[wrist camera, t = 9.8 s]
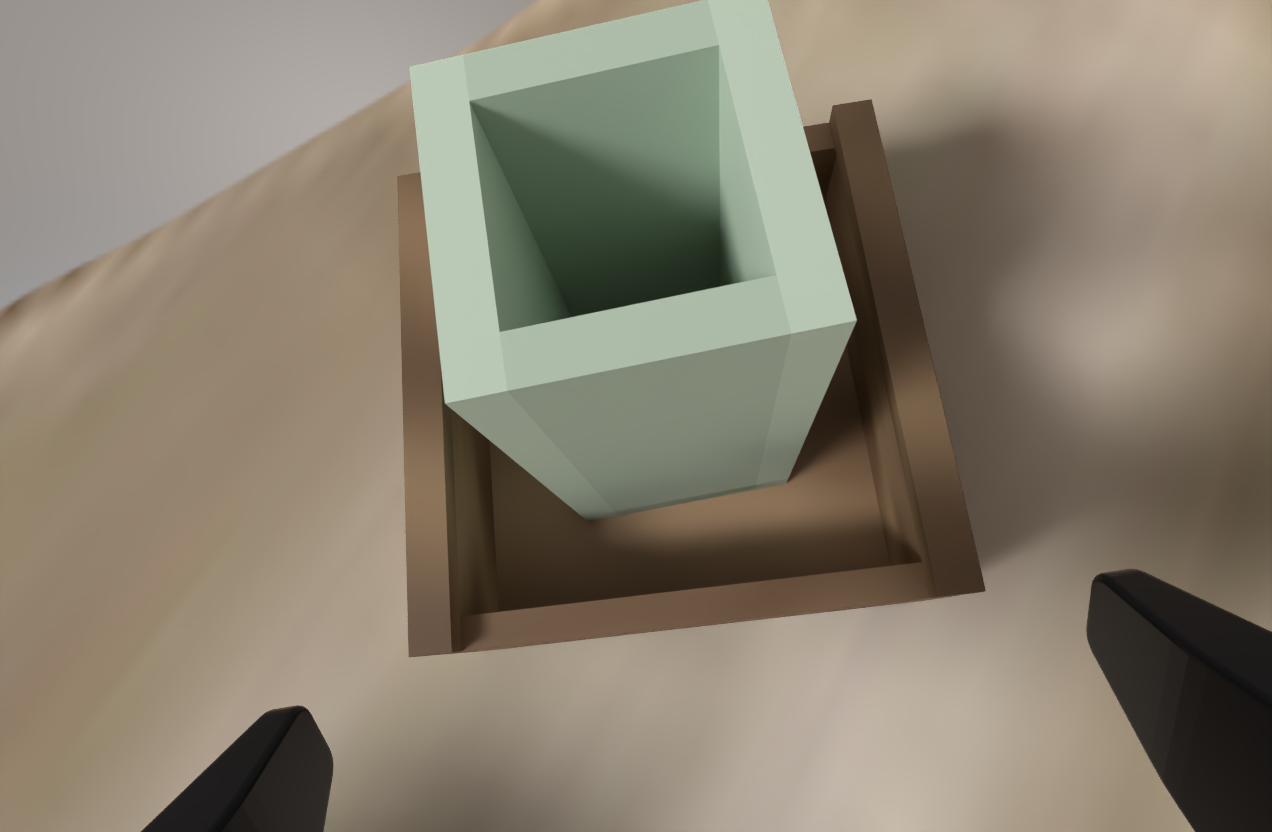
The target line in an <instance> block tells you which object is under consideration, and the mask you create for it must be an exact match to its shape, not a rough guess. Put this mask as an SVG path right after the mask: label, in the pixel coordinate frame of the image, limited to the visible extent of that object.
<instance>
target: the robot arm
mask: <svg viewBox="0 0 1272 832" xmlns="http://www.w3.org/2000/svg"><path fill="white" fill-rule="evenodd" d="M1087 638H1088V643H1089V645H1090V648H1091V650H1092V653H1093V655H1094V656H1095V658H1096V660H1097V662H1098V664H1099V666H1100V668H1101V670H1102V671H1103V673H1104V675H1105V677H1106V679H1107V681H1108V683H1109V684H1110V686H1111V688H1112V690H1113V692H1114V694H1115V696H1116V698H1117V699H1118V701H1119V703H1120V705H1121V707H1122V709H1123V711H1124V713H1125V714H1126V716H1127V718H1128V720H1129V722H1130V724H1131V726H1132V728H1133V729H1134V731H1135V733H1136V735H1137V737H1138V739H1139V741H1140V743H1141V744H1142V746H1143V748H1144V750H1145V752H1146V754H1147V756H1148V758H1149V759H1150V761H1151V763H1152V765H1153V766H1154V768H1155V770H1156V772H1157V773H1158V775H1159V777H1160V779H1161V780H1162V782H1163V784H1164V785H1165V787H1166V788H1167V790H1168V792H1169V793H1170V795H1171V796H1172V798H1173V799H1174V801H1175V803H1176V804H1177V806H1178V807H1179V809H1180V810H1181V812H1182V813H1183V815H1184V816H1185V818H1186V819H1187V820H1188V822H1189V823H1190V825H1191V826H1192V828H1193V829H1194V831H1195V832H1272V632H1271V631H1269V630H1266V629H1264V628H1262V627H1260V626H1258V625H1256V624H1254V623H1251V622H1249V621H1247V620H1245V619H1243V618H1241V617H1239V616H1237V615H1234V614H1232V613H1230V612H1228V611H1226V610H1224V609H1222V608H1220V607H1217V606H1215V605H1213V604H1211V603H1209V602H1207V601H1205V600H1203V599H1200V598H1198V597H1196V596H1194V595H1192V594H1190V593H1188V592H1186V591H1183V590H1181V589H1179V588H1177V587H1175V586H1173V585H1171V584H1169V583H1166V582H1164V581H1162V580H1160V579H1158V578H1156V577H1154V576H1152V575H1149V574H1147V573H1145V572H1143V571H1140V570H1137V569H1125V570H1119V571H1113V572H1107V573H1101V574H1099V575H1097V576H1096V577H1095V578H1094V580H1093V582H1092V586H1091V594H1090V602H1089V611H1088V619H1087ZM332 776H333V757H332V754H331V751H330V748H329V746H328V745H327V743H326V741H325V739H324V737H323V735H322V734H321V732H320V730H319V728H318V726H317V724H316V722H315V721H314V719H313V717H312V715H311V713H310V712H309V710H308V709H306V708H305V707H303V706H291V707H285V708H279V709H273V710H270V711H268V712H266V713H264V714H263V715H262V716H261V717H260V718H259V719H258V720H257V721H256V722H255V723H253V724H252V725H251V726H250V727H249V728H248V729H247V730H246V731H245V732H244V733H243V734H242V735H241V736H240V737H239V738H238V739H237V740H236V741H235V742H234V743H233V744H232V745H231V746H230V747H229V748H227V749H226V750H225V751H224V752H223V753H222V754H221V755H220V756H219V757H218V758H217V759H216V760H215V761H214V762H213V763H212V764H211V765H210V766H209V767H208V768H207V769H206V770H205V771H204V772H203V773H201V774H200V775H199V776H198V777H197V778H196V779H195V780H194V781H193V782H192V783H191V784H190V785H189V786H188V787H187V788H186V789H185V790H184V791H183V792H182V793H181V794H180V795H179V796H178V797H177V798H175V799H174V800H173V801H172V802H171V803H170V804H169V805H168V806H167V807H166V808H165V809H164V810H163V811H162V812H161V813H160V814H159V815H158V816H157V817H156V818H155V819H154V820H153V821H152V822H151V823H149V824H148V825H147V826H146V827H145V828H144V829H143V830H142V831H141V832H323V831H324V825H325V819H326V813H327V807H328V801H329V795H330V788H331V782H332Z"/></svg>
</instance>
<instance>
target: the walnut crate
mask: <svg viewBox="0 0 1272 832" xmlns="http://www.w3.org/2000/svg"><path fill="white" fill-rule="evenodd" d="M803 129H804V132H805V136H806V140H807V143H808V147H809V150H810V154H811V158H812V161H813V165H814V168H815V172H816V175H817V179H818V183H819V186H820V190H821V193H822V197H823V201H824V204H825V208H826V211H827V215H828V219H829V222H830V226H831V229H832V233H833V236H834V240H835V244H836V247H837V251H838V254H839V258H840V262H841V265H842V269H843V272H844V276H845V280H846V283H847V287H848V290H849V294H850V297H851V301H852V305H853V308H854V312H855V315H856V319H857V321H856V324H855V326H854V328H853V331H852V333H851V335H850V337H849V340H848V342H847V344H846V347H845V349H844V351H843V354H842V356H841V358H840V361H839V363H838V365H837V367H836V370H835V372H834V374H833V377H832V379H831V381H830V384H829V386H828V388H827V390H826V393H825V395H824V397H823V400H822V402H821V404H820V407H819V409H818V411H817V414H816V416H815V418H814V420H813V423H812V425H811V427H810V430H809V432H808V434H807V437H806V439H805V441H804V444H803V446H802V448H801V450H800V453H799V455H798V457H797V460H796V462H795V464H794V467H793V469H792V471H791V473H790V476H789V478H788V480H787V483H786V484H783V485H777V486H772V487H767V488H762V489H756V490H751V491H746V492H741V493H735V494H730V495H725V496H720V497H714V498H709V499H704V500H699V501H693V502H688V503H683V504H678V505H673V506H667V507H662V508H657V509H652V510H646V511H641V512H636V513H631V514H625V515H620V516H615V517H610V518H604V519H599V520H594V521H589V522H588V521H587V520H585V519H584V518H583V517H582V516H581V515H579V514H578V513H577V512H576V511H575V510H573V509H572V508H571V507H570V506H569V505H567V504H566V503H565V502H564V501H562V500H561V499H560V498H559V497H558V496H556V495H555V494H554V493H553V492H552V491H550V490H549V489H548V488H547V487H545V486H544V485H543V484H542V483H541V482H539V481H538V480H537V479H536V478H535V477H533V476H532V475H531V474H530V473H529V472H527V471H526V470H525V469H524V468H522V467H521V466H520V465H519V464H518V463H516V462H515V461H514V460H513V459H512V458H510V457H509V456H508V455H507V454H506V453H504V452H503V451H502V450H501V449H499V448H498V447H497V446H496V445H495V444H493V443H492V442H491V441H490V440H489V439H487V438H486V437H485V436H484V435H482V434H481V433H480V432H479V431H478V430H476V429H475V428H474V427H473V426H472V425H470V424H469V423H468V422H467V421H466V420H464V419H463V418H462V417H461V416H459V415H458V414H457V413H456V412H455V411H453V410H452V409H451V408H450V407H449V406H447V405H446V404H445V399H444V390H443V380H442V371H441V362H440V352H439V343H438V333H437V324H436V314H435V305H434V296H433V286H432V277H431V267H430V258H429V248H428V239H427V230H426V220H425V211H424V201H423V192H422V182H421V173H414V174H408V175H402V176H397V177H398V219H399V262H400V304H401V347H402V389H403V431H404V474H405V516H406V558H407V601H408V643H409V657H417V656H428V655H440V654H453V653H465V652H478V651H488V650H497V649H505V648H514V647H523V646H532V645H540V644H549V643H558V642H567V641H576V640H584V639H593V638H602V637H611V636H619V635H628V634H637V633H646V632H654V631H663V630H672V629H681V628H690V627H698V626H707V625H716V624H725V623H733V622H742V621H751V620H760V619H768V618H777V617H786V616H795V615H803V614H812V613H821V612H830V611H839V610H847V609H856V608H865V607H874V606H882V605H891V604H900V603H909V602H917V601H925V600H931V599H938V598H944V597H951V596H957V595H963V594H970V593H978V592H984V591H986V590H985V586H984V582H983V577H982V573H981V569H980V565H979V560H978V556H977V552H976V547H975V543H974V539H973V534H972V530H971V526H970V522H969V517H968V513H967V509H966V504H965V500H964V496H963V491H962V487H961V483H960V478H959V474H958V470H957V466H956V461H955V457H954V453H953V448H952V444H951V440H950V435H949V431H948V427H947V422H946V418H945V414H944V410H943V405H942V401H941V397H940V392H939V388H938V384H937V379H936V375H935V371H934V367H933V362H932V358H931V354H930V349H929V345H928V341H927V336H926V332H925V328H924V323H923V319H922V315H921V311H920V306H919V302H918V298H917V293H916V289H915V285H914V280H913V276H912V272H911V268H910V263H909V259H908V255H907V250H906V246H905V242H904V237H903V233H902V229H901V224H900V220H899V216H898V212H897V207H896V203H895V199H894V194H893V190H892V186H891V181H890V177H889V173H888V168H887V164H886V160H885V156H884V151H883V147H882V143H881V138H880V134H879V130H878V125H877V121H876V117H875V113H874V108H873V104H872V100H865V101H858V102H852V103H846V104H840V105H834V106H833V107H832V112H831V117H830V121H829V123H824V124H818V125H812V126H805V127H803Z"/></svg>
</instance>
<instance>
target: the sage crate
mask: <svg viewBox="0 0 1272 832" xmlns="http://www.w3.org/2000/svg"><path fill="white" fill-rule="evenodd" d="M409 69H410V79H411V88H412V98H413V107H414V116H415V126H416V135H417V145H418V154H419V164H420V173H421V182H422V192H423V201H424V211H425V220H426V230H427V239H428V248H429V258H430V267H431V277H432V286H433V296H434V305H435V314H436V324H437V333H438V343H439V352H440V362H441V371H442V380H443V390H444V399H445V404H446V405H447V406H449V407H450V408H451V409H452V410H453V411H455V412H456V413H457V414H458V415H459V416H461V417H462V418H463V419H464V420H466V421H467V422H468V423H469V424H470V425H472V426H473V427H474V428H475V429H476V430H478V431H479V432H480V433H481V434H482V435H484V436H485V437H486V438H487V439H489V440H490V441H491V442H492V443H493V444H495V445H496V446H497V447H498V448H499V449H501V450H502V451H503V452H504V453H506V454H507V455H508V456H509V457H510V458H512V459H513V460H514V461H515V462H516V463H518V464H519V465H520V466H521V467H522V468H524V469H525V470H526V471H527V472H529V473H530V474H531V475H532V476H533V477H535V478H536V479H537V480H538V481H539V482H541V483H542V484H543V485H544V486H545V487H547V488H548V489H549V490H550V491H552V492H553V493H554V494H555V495H556V496H558V497H559V498H560V499H561V500H562V501H564V502H565V503H566V504H567V505H569V506H570V507H571V508H572V509H573V510H575V511H576V512H577V513H578V514H579V515H581V516H582V517H583V518H584V519H585V520H587V521H588V522H589V521H594V520H599V519H604V518H610V517H615V516H620V515H625V514H631V513H636V512H641V511H646V510H652V509H657V508H662V507H667V506H673V505H678V504H683V503H688V502H693V501H699V500H704V499H709V498H714V497H720V496H725V495H730V494H735V493H741V492H746V491H751V490H756V489H762V488H767V487H772V486H777V485H783V484H786V483H787V480H788V478H789V476H790V473H791V471H792V469H793V467H794V464H795V462H796V460H797V457H798V455H799V453H800V450H801V448H802V446H803V444H804V441H805V439H806V437H807V434H808V432H809V430H810V427H811V425H812V423H813V420H814V418H815V416H816V414H817V411H818V409H819V407H820V404H821V402H822V400H823V397H824V395H825V393H826V390H827V388H828V386H829V384H830V381H831V379H832V377H833V374H834V372H835V370H836V367H837V365H838V363H839V361H840V358H841V356H842V354H843V351H844V349H845V347H846V344H847V342H848V340H849V337H850V335H851V333H852V331H853V328H854V326H855V324H856V321H857V319H856V315H855V312H854V308H853V305H852V301H851V297H850V294H849V290H848V287H847V283H846V280H845V276H844V272H843V269H842V265H841V262H840V258H839V254H838V251H837V247H836V244H835V240H834V236H833V233H832V229H831V226H830V222H829V219H828V215H827V211H826V208H825V204H824V201H823V197H822V193H821V190H820V186H819V183H818V179H817V175H816V172H815V168H814V165H813V161H812V158H811V154H810V150H809V147H808V143H807V140H806V136H805V132H804V129H803V125H802V122H801V118H800V114H799V111H798V107H797V104H796V100H795V97H794V93H793V89H792V86H791V82H790V79H789V75H788V71H787V68H786V64H785V61H784V57H783V54H782V50H781V46H780V43H779V39H778V36H777V32H776V28H775V25H774V21H773V18H772V14H771V10H770V7H769V3H768V0H702V1H697V2H693V3H688V4H684V5H680V6H675V7H671V8H666V9H662V10H658V11H653V12H649V13H644V14H640V15H636V16H631V17H627V18H622V19H618V20H614V21H609V22H605V23H600V24H596V25H592V26H587V27H583V28H578V29H574V30H570V31H565V32H561V33H556V34H552V35H548V36H543V37H539V38H535V39H530V40H526V41H521V42H517V43H513V44H508V45H504V46H499V47H495V48H491V49H486V50H482V51H477V52H473V53H469V54H464V55H460V56H455V57H451V58H447V59H442V60H438V61H433V62H429V63H425V64H421V65H416V66H411V67H409Z"/></svg>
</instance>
